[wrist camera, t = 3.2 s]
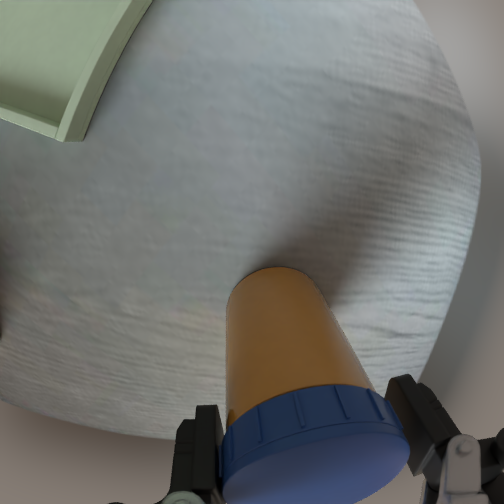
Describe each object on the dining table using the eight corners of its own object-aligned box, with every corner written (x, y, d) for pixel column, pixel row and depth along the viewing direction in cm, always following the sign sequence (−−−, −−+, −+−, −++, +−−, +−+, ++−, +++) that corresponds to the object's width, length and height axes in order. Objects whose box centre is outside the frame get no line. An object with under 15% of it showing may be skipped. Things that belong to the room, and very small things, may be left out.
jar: (324, 261, 17) (421, 401, 7) (320, 344, 19) (378, 488, 9) (220, 271, 17) (213, 438, 7) (231, 354, 18) (237, 513, 8)
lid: (408, 365, 8) (436, 406, 6) (372, 464, 10) (385, 498, 8) (206, 395, 8) (203, 450, 6) (231, 487, 10) (232, 524, 8)
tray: (178, -35, 11) (172, -54, 9) (82, 141, 14) (63, 142, 12) (16, -43, 8) (2, -52, 6) (-52, 93, 11) (-70, 93, 9)
